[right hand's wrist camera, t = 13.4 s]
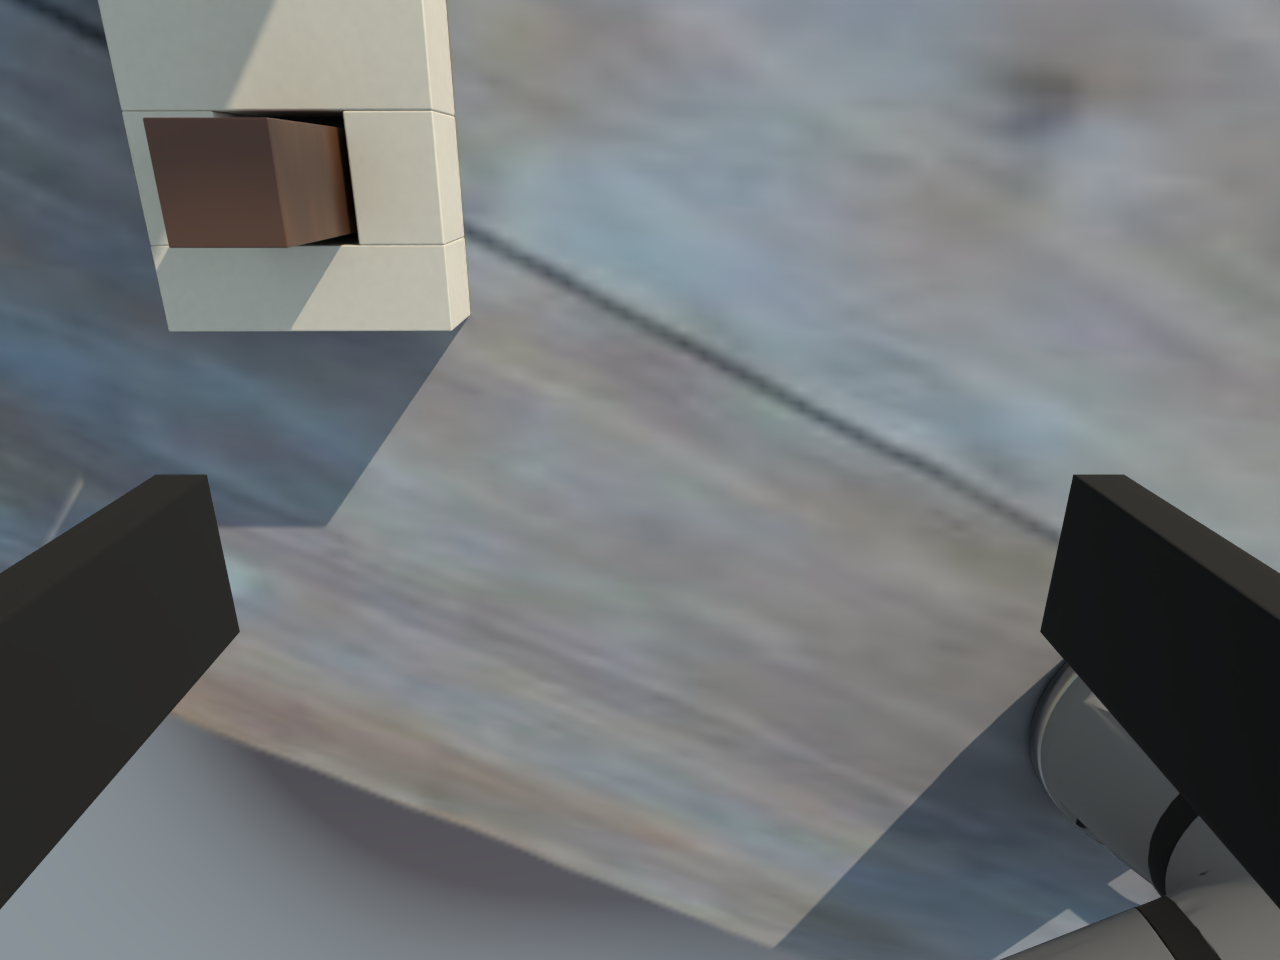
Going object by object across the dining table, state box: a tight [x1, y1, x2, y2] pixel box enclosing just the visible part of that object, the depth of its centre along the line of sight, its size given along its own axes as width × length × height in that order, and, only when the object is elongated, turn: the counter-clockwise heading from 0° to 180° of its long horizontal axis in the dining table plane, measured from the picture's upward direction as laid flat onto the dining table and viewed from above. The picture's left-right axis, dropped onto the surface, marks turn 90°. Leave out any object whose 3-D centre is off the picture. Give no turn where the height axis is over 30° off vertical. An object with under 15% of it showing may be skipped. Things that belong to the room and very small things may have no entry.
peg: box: [143, 117, 358, 248], centre depth 31 cm, size 4×4×10 cm
